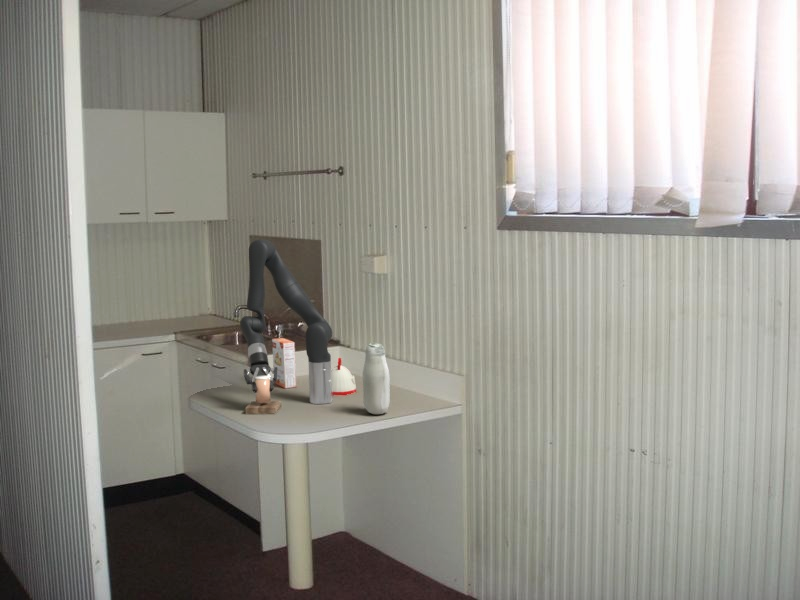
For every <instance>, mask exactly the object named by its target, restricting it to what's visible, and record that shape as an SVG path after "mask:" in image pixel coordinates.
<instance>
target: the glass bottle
mask: <svg viewBox="0 0 800 600" xmlns="http://www.w3.org/2000/svg"><path fill="white" fill-rule="evenodd" d="M364 352H365V357H364V358H365V359H364V364H363V369H362V392H363V393H362V394H363V405H364V408H365V410H366V412H367V413H370V414H372V415H374V416H378V415H379V416H380V415H382V414H385V413H386V412H387V411H388V409H389V407H390V401H391V400H390V399H391V397H390V396H391V395H390V394H391V392H390V391H391V390H390V389H391V387H390V385H391V382H390V381H391V380H390V371H389V366H388V362H387V358H386V351H385V347H384V346H383V344H382V343H379V342H371V343H368V344H367V346H366V347H365V351H364Z"/></svg>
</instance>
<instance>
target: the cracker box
mask: <svg viewBox="0 0 800 600" xmlns="http://www.w3.org/2000/svg"><path fill="white" fill-rule="evenodd" d="M271 341H272V342H271V343H272V345H271V346H272V363H273V364H272V365H273V366H272V368H275V367H277V381H276V382H274V383H273V384H275V385H277V386H279V387H282V388H283V389H285V390H287V389H291V388H292V389H294V388H297V374H296V373H297V372H296V371H297V370H296V366H297V365H296V345H295V344H296V342H294V341H292V340H290V339H288V338H284V337H280V338H279V337H278V338H272V339H271Z"/></svg>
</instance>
